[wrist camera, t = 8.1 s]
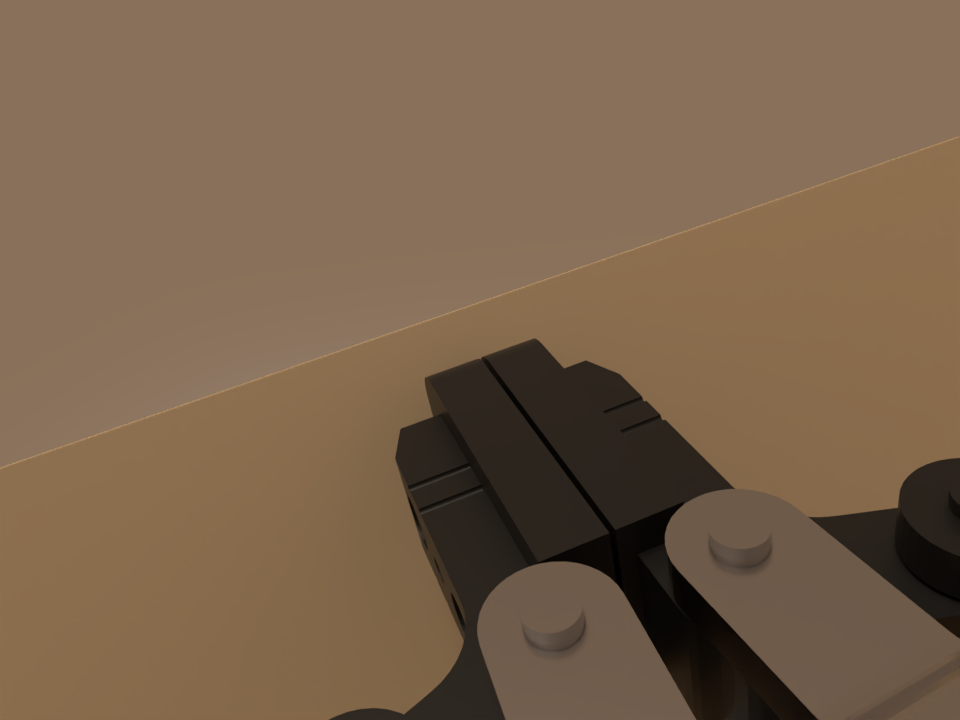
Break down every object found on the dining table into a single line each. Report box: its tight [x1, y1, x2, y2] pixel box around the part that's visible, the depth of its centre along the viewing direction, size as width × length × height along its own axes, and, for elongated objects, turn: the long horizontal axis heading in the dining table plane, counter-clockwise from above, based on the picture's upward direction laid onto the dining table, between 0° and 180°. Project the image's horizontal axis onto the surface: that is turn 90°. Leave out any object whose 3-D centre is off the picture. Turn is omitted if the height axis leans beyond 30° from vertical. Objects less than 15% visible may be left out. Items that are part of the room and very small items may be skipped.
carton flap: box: [0, 136, 960, 720], centre depth 12 cm, size 22×10×1 cm
